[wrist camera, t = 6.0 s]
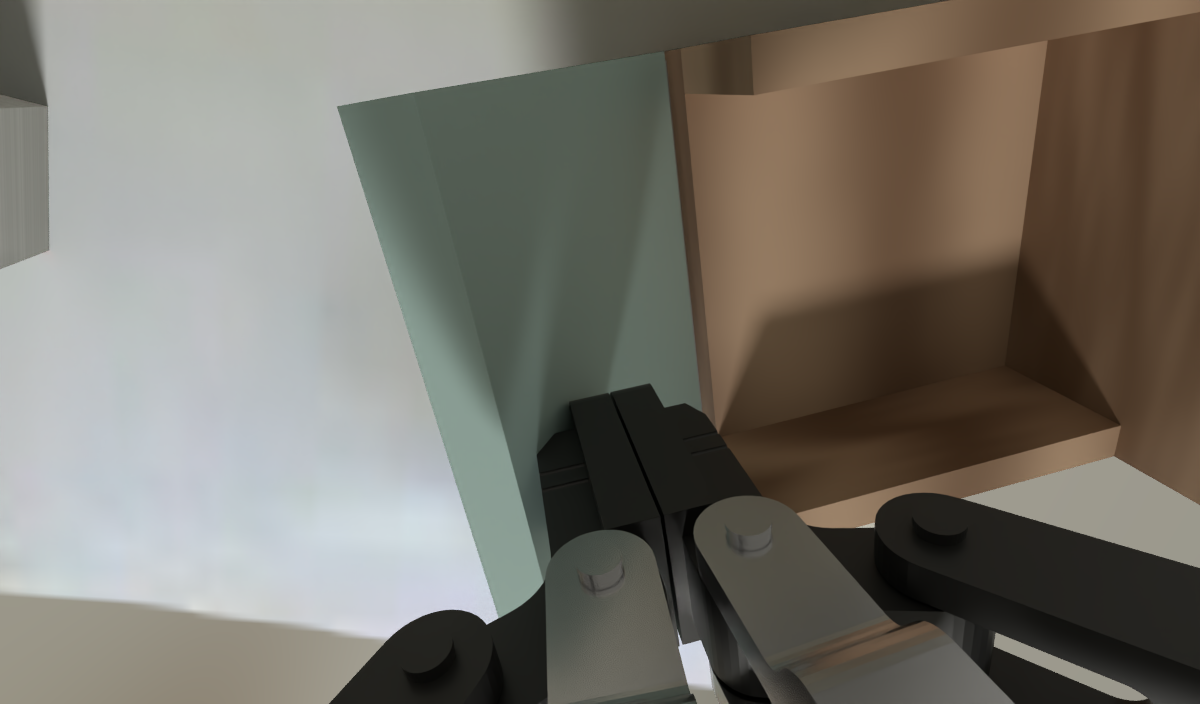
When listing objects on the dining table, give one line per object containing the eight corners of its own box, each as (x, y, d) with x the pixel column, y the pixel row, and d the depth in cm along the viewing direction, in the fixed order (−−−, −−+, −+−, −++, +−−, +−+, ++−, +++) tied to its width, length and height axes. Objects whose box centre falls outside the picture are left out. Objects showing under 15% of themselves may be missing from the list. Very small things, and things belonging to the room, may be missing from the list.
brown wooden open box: (689, 418, 22) (839, 643, 13) (647, 54, 17) (843, 17, 8) (963, 350, 23) (1272, 514, 14) (999, -8, 18) (1505, -99, 9)
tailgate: (676, 458, 20) (535, 735, 12) (625, 58, 15) (337, 106, 7) (712, 463, 20) (589, 753, 12) (672, 50, 15) (414, 92, 7)
